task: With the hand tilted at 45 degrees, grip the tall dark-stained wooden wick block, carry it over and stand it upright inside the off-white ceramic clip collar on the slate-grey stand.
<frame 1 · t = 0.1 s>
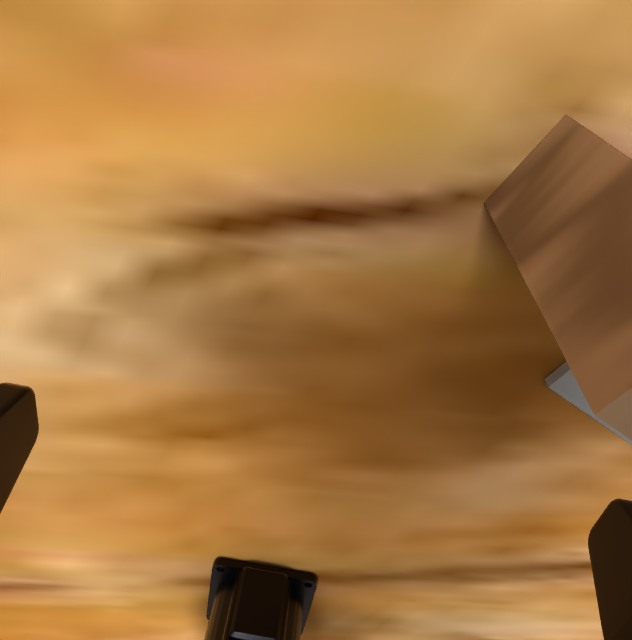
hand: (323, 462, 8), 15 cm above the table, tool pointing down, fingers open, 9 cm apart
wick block: (561, 192, 21), on the table
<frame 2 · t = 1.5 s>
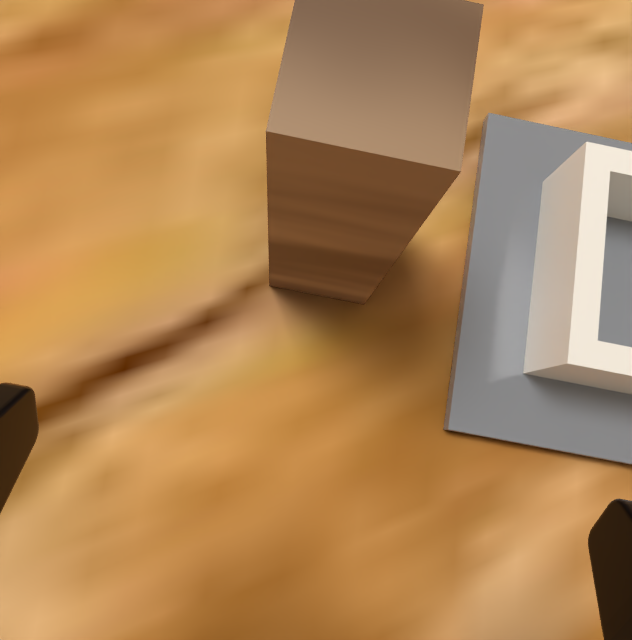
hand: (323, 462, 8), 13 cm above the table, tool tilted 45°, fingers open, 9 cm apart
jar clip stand: (621, 296, 24), on the table
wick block: (325, 249, 23), on the table
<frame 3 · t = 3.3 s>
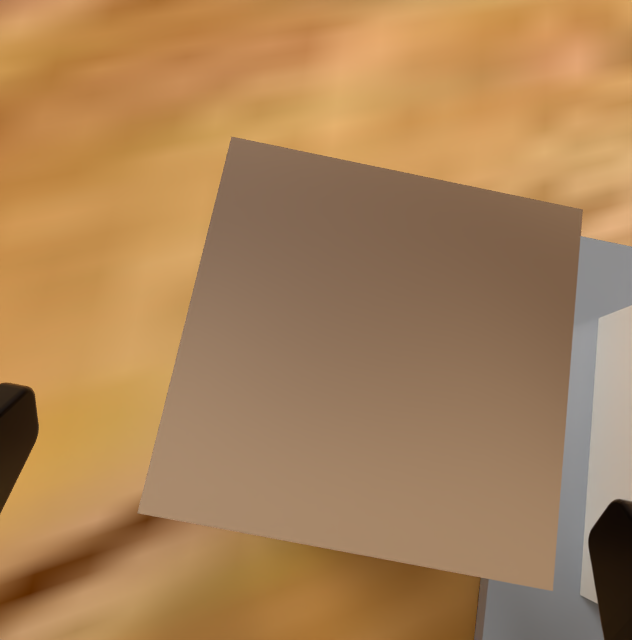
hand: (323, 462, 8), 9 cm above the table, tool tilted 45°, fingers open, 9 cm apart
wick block: (309, 413, 17), on the table
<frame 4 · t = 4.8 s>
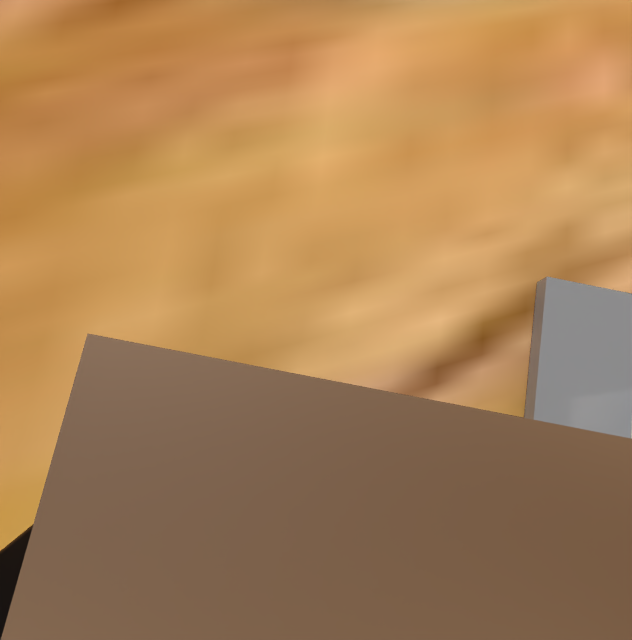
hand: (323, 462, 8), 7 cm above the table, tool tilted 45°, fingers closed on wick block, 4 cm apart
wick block: (292, 505, 15), on the table, touching gripper
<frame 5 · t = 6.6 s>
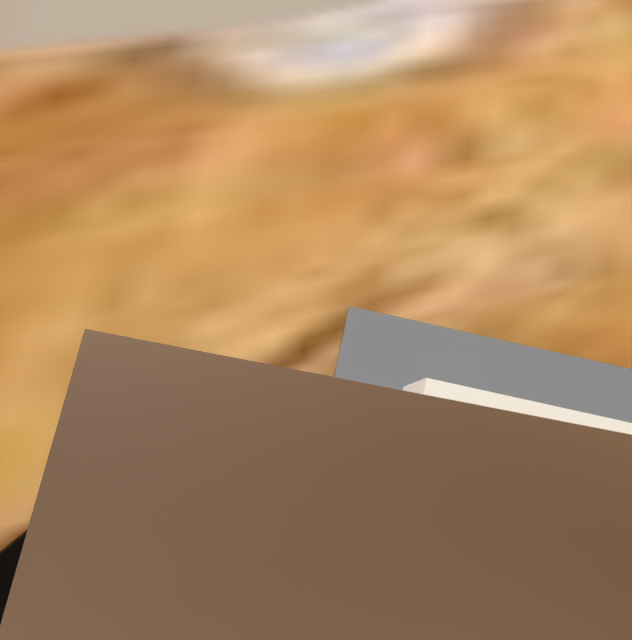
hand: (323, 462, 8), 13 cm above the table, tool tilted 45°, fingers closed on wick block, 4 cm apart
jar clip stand: (486, 517, 22), on the table
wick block: (291, 505, 15), point 7 cm above the table, touching gripper
when the fingers open (9 cm above the table, at t = 8.7 s): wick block drops 1 cm, resting on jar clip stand.
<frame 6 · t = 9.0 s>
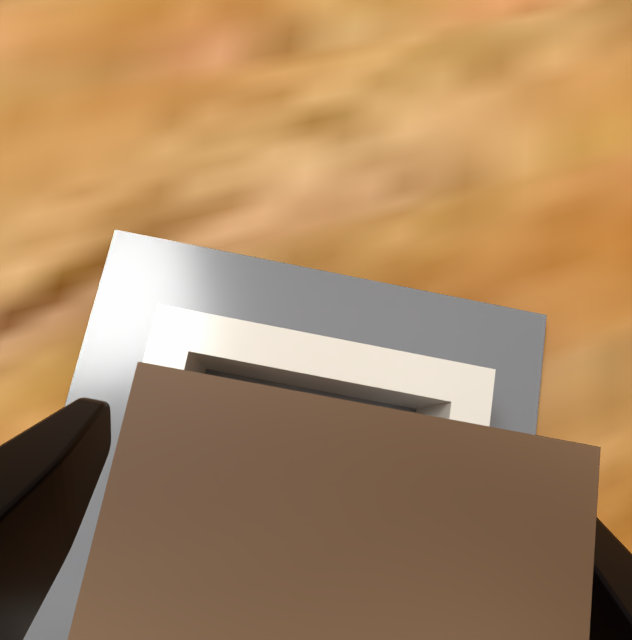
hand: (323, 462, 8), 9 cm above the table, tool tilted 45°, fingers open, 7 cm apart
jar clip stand: (290, 497, 16), on the table
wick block: (290, 498, 16), point 1 cm above the table, touching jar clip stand
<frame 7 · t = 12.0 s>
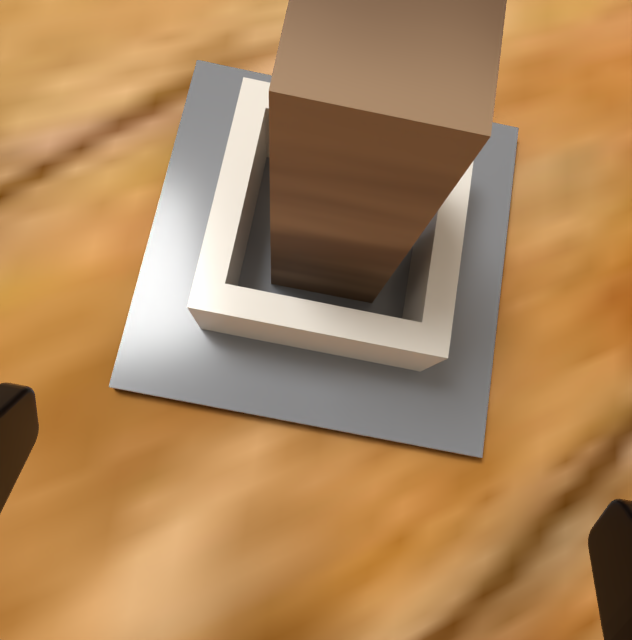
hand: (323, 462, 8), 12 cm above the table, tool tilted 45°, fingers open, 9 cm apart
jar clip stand: (329, 251, 22), on the table
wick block: (330, 245, 22), point 1 cm above the table, touching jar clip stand
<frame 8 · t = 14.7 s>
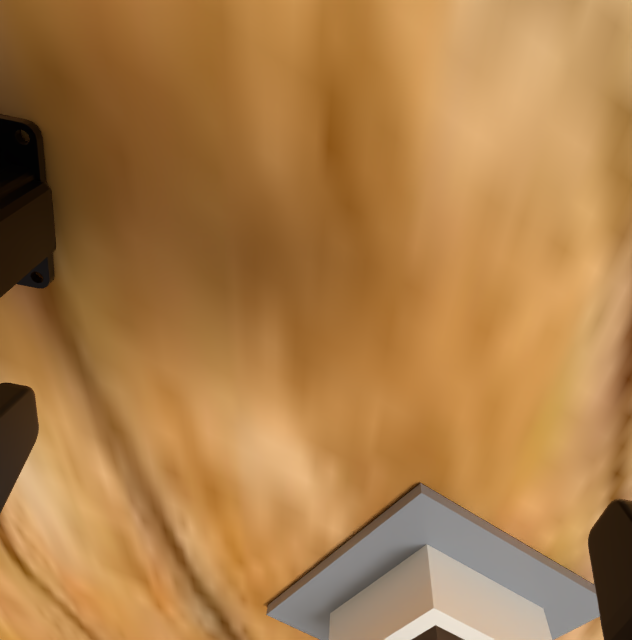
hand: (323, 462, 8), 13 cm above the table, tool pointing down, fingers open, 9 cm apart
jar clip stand: (432, 600, 32), on the table
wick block: (434, 610, 31), point 1 cm above the table, touching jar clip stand
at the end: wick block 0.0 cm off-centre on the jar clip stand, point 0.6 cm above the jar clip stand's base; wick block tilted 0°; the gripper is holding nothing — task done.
